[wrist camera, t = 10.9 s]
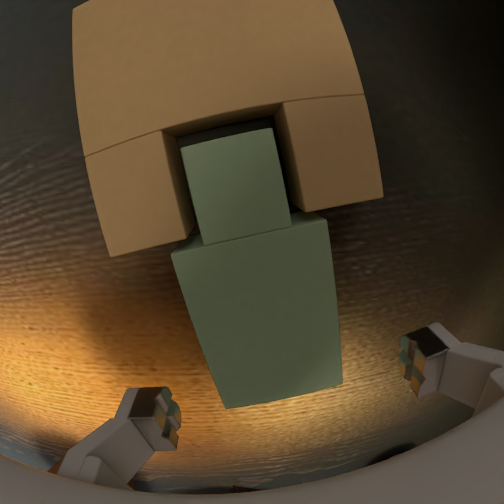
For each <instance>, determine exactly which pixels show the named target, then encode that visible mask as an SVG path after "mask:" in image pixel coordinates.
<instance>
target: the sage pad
mask: <svg viewBox="0 0 504 504" xmlns="http://www.w3.org/2000/svg"><path fill="white" fill-rule="evenodd" d="M181 154H182V158H183V163H184V167H185V171H186V176H187V180H188V184H189V188H190V193H191V197H192V201H193V205H194V209H195V213H196V217H197V221H198V225H199V229H200V233H201V234H197V235H193V236H188V237H187V238H186V239H184V240H181V241H180V243H179V244H178V245H177V247H176V248H175V249H174V251H173V252H172V253H171V259H172V262H173V265H174V268H175V272H176V275H177V278H178V281H179V285H180V288H181V291H182V294H183V297H184V300H185V303H186V306H187V309H188V312H189V315H190V318H191V321H192V324H193V326H194V329H195V332H196V335H197V338H198V340H199V343H200V346H201V349H202V351H203V354H204V357H205V359H206V362H207V364H208V367H209V370H210V372H211V375H212V377H213V380H214V382H215V385H216V387H217V390H218V392H219V395H220V397H221V399H222V402H223V404H224V407H225V409H230V408H237V407H243V406H249V405H255V404H261V403H266V402H271V401H276V400H281V399H286V398H290V397H295V396H299V395H303V394H307V393H311V392H315V391H319V390H323V389H326V388H330V387H334V386H337V385H340V384H342V383H343V379H342V358H341V342H340V329H339V317H338V306H337V295H336V286H335V277H334V269H333V261H332V253H331V245H330V238H329V231H328V225H327V220H326V219H324V218H322V217H320V216H319V215H317V214H315V213H313V212H312V211H311V212H305V211H301V212H296V213H291V214H290V211H289V206H288V201H287V196H286V191H285V186H284V181H283V176H282V171H281V166H280V162H279V157H278V152H277V148H276V143H275V139H274V134H273V130H272V128H267V129H261V130H256V131H251V132H246V133H241V134H236V135H232V136H227V137H223V138H218V139H214V140H210V141H206V142H202V143H198V144H194V145H190V146H187V147H183V148H181Z"/></svg>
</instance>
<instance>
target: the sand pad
mask: <svg viewBox="0 0 504 504" xmlns="http://www.w3.org/2000/svg"><path fill="white" fill-rule="evenodd" d="M72 48H73V71H74V85H75V95H76V105H77V113H78V121H79V128H80V134H81V140H82V146H83V152H84V156H85V157H86V158H85V162H86V167H87V172H88V177H89V181H90V186H91V190H92V194H93V198H94V202H95V206H96V210H97V214H98V218H99V221H100V225H101V229H102V232H103V235H104V239H105V242H106V245H107V249H108V252H109V255H110V257H115V256H119V255H123V254H127V253H131V252H135V251H139V250H143V249H147V248H151V247H155V246H159V245H163V244H167V243H171V242H175V241H180V240H184V239H186V238H187V237H188V235H189V234H190V233H191V231H192V230H193V228H194V227H195V226H196V221H195V217H194V213H193V209H192V205H191V201H190V197H189V193H188V189H187V184H186V180H185V176H184V172H183V167H182V163H181V158H180V154H179V149H178V145H177V140H176V137H179V136H183V135H187V134H190V133H194V132H198V131H202V130H206V129H210V128H214V127H219V126H223V125H228V124H232V123H237V122H242V121H247V120H252V119H257V118H263V117H269V116H274V121H275V125H276V130H277V134H278V139H279V143H280V148H281V153H282V157H283V162H284V167H285V172H286V177H287V182H288V187H289V192H290V197H291V202H292V204H293V205H295V206H297V207H298V208H300V209H301V210H303V211H305V212H311V211H316V210H321V209H326V208H331V207H336V206H341V205H347V204H352V203H357V202H362V201H367V200H373V199H378V198H383V196H384V195H383V188H382V181H381V174H380V167H379V161H378V156H377V150H376V145H375V139H374V134H373V129H372V125H371V120H370V116H369V111H368V107H367V103H366V99H365V96H364V91H363V87H362V84H361V80H360V77H359V73H358V70H357V66H356V63H355V60H354V57H353V53H352V50H351V47H350V44H349V41H348V38H347V36H346V33H345V30H344V27H343V24H342V22H341V19H340V17H339V14H338V11H337V9H336V6H335V4H334V2H333V0H90V1H88V2H86V3H84V4H82V5H80V6H78V7H76V8H74V9H73V20H72Z"/></svg>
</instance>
